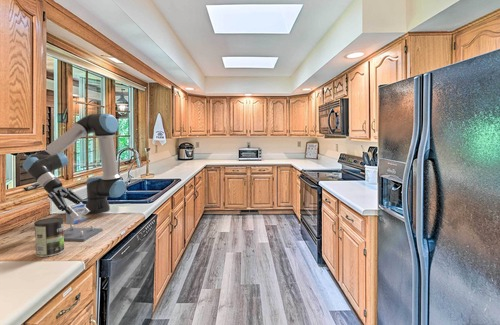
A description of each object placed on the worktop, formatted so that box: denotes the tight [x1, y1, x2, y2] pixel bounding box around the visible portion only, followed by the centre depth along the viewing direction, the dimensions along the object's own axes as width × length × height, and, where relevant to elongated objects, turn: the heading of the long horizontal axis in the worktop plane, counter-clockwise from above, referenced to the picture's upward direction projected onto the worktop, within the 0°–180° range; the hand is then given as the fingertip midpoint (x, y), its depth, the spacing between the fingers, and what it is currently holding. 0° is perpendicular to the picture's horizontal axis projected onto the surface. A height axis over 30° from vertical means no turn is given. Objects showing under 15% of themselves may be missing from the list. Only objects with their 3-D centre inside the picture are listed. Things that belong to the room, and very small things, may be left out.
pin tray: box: [63, 224, 104, 242], centre depth 148 cm, size 16×18×4 cm
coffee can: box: [33, 217, 65, 258], centre depth 125 cm, size 10×10×14 cm
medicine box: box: [65, 203, 86, 225], centre depth 147 cm, size 8×4×9 cm, turn 169°
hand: (82, 215), depth 147 cm, fingers closed on medicine box, 8 cm apart
